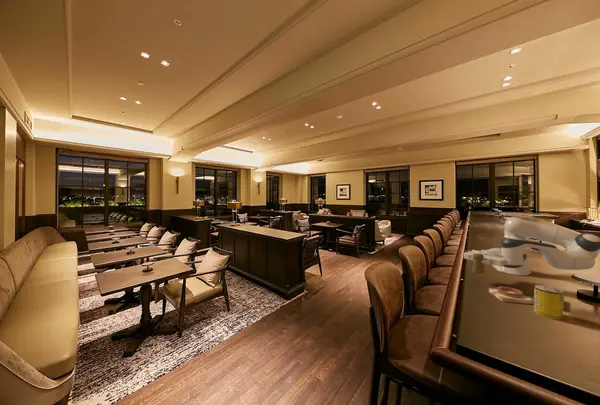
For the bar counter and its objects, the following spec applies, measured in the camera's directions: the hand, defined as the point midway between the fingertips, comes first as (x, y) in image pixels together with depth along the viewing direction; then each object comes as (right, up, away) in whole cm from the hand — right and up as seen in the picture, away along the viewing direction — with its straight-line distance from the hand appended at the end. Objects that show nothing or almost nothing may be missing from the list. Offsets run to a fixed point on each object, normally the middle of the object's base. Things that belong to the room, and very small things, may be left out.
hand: (477, 260), depth 136 cm
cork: (+1, -7, +1) cm, 7 cm away
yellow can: (+8, -17, -31) cm, 36 cm away
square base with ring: (+7, -16, -14) cm, 22 cm away
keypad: (+21, -17, -20) cm, 34 cm away
